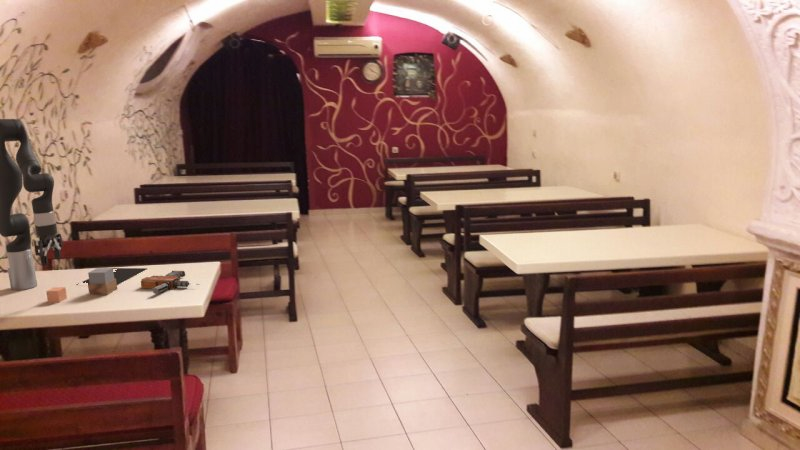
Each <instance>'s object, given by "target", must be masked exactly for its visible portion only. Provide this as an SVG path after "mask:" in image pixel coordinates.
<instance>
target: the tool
mask: <svg viewBox="0 0 800 450" xmlns="http://www.w3.org/2000/svg"><path fill="white" fill-rule="evenodd" d="M185 276H186V272H185V271H184V270H171V272H169V273H166V274H165V275H152V276H146V277H143V278H141V280H140V284H141V289H152V293H153V294H159V293H161V292H164V291H165V290H169V289H170V290H174V289H175V288H177V287H178V288H179V287H180V288H181V287H183V288H188V286H190V282H189V281H188V280H183V277H185ZM197 285H200V283H197Z"/></svg>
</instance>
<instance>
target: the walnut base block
mask: <svg viewBox="0 0 800 450" xmlns="http://www.w3.org/2000/svg"><path fill="white" fill-rule="evenodd" d="M87 288H88V293H89V296H109V295H110V294H112V293H114V292H115V291H117V290H118V285H117V282H116V279H113V280H112V281H110V282H108V283H107V284H88V286H87ZM113 291H114V292H113Z"/></svg>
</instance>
